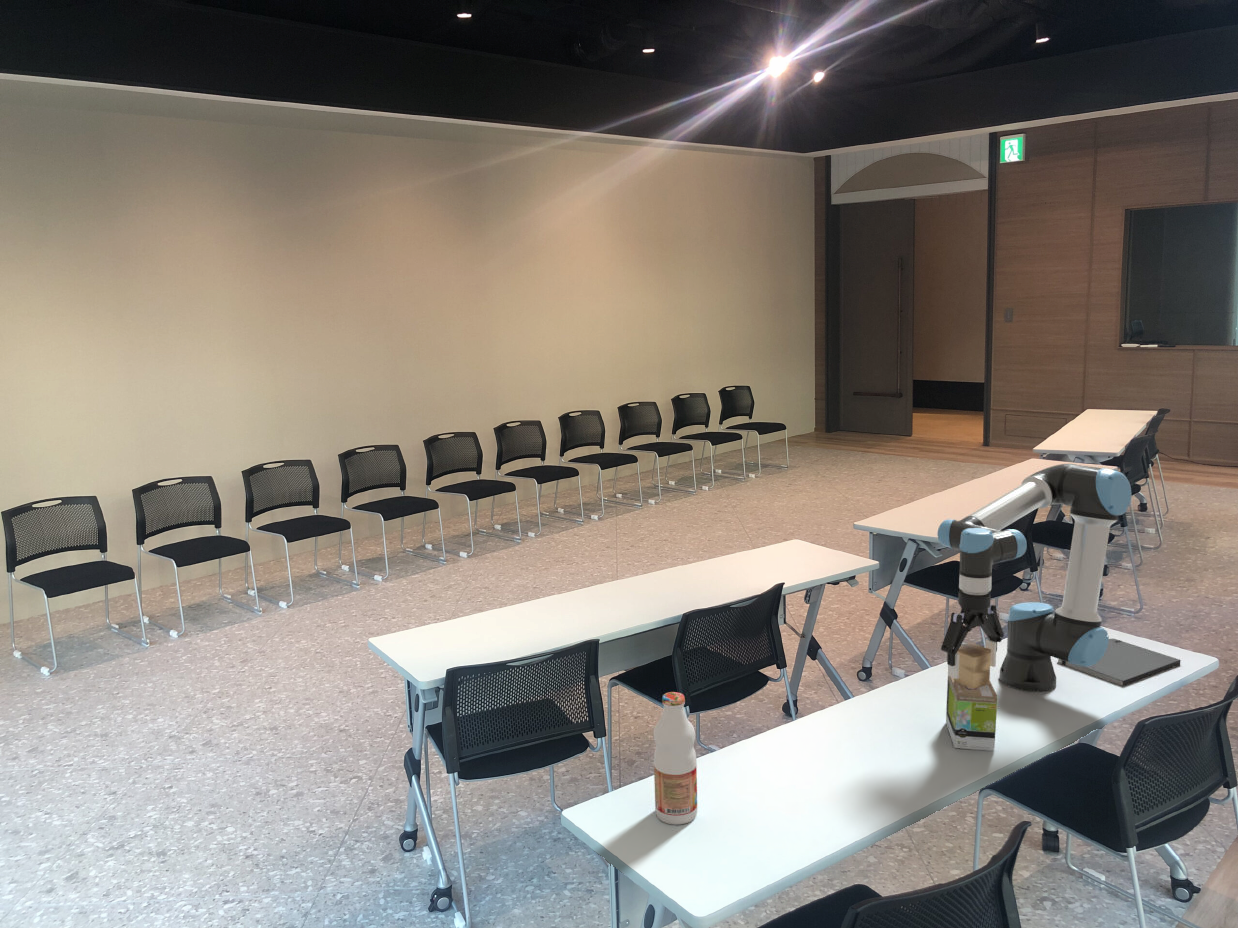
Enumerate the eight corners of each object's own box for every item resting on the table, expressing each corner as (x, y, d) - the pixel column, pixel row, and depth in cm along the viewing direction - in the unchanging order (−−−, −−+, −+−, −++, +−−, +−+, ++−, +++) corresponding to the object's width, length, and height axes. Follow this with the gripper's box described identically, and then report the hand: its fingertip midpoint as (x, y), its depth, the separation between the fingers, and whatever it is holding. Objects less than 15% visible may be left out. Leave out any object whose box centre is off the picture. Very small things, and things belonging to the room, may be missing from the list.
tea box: (996, 751, 227) (998, 695, 225) (953, 749, 229) (955, 693, 227) (985, 724, 242) (987, 671, 239) (944, 722, 244) (946, 669, 241)
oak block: (970, 675, 237) (971, 642, 235) (989, 683, 232) (991, 649, 230) (953, 680, 234) (954, 647, 232) (973, 689, 229) (974, 654, 227)
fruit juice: (646, 811, 206) (643, 694, 201) (679, 798, 211) (676, 683, 206) (672, 830, 198) (669, 709, 193) (706, 815, 203) (704, 697, 199)
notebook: (1122, 688, 261) (1180, 666, 275) (1123, 680, 261) (1180, 659, 274) (1054, 663, 280) (1111, 644, 293) (1055, 656, 280) (1112, 637, 293)
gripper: (995, 578, 238) (992, 655, 242) (927, 595, 226) (925, 676, 230) (1020, 585, 231) (1017, 664, 235) (951, 603, 219) (949, 687, 223)
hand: (971, 670), depth 232 cm, fingers open, 13 cm apart
